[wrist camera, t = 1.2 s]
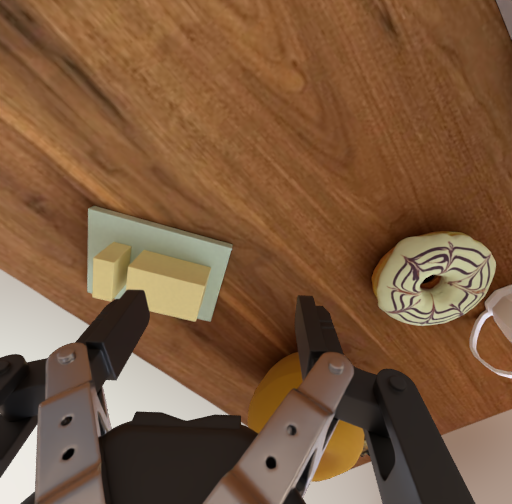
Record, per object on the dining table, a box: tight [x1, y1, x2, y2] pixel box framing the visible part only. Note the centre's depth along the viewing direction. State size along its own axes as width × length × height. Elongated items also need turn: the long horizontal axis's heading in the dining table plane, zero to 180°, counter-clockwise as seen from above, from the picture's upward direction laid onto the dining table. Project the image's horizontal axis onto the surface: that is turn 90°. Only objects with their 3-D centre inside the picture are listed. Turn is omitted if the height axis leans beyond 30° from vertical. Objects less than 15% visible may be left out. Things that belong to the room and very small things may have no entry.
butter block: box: [126, 250, 211, 322], centre depth 25 cm, size 4×7×4 cm, turn 73°
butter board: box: [87, 206, 233, 322], centre depth 27 cm, size 10×14×1 cm
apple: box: [247, 352, 365, 481], centre depth 29 cm, size 13×13×11 cm
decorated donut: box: [371, 231, 496, 326], centre depth 26 cm, size 10×11×4 cm
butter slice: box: [92, 242, 131, 302], centre depth 25 cm, size 4×2×4 cm, turn 163°
